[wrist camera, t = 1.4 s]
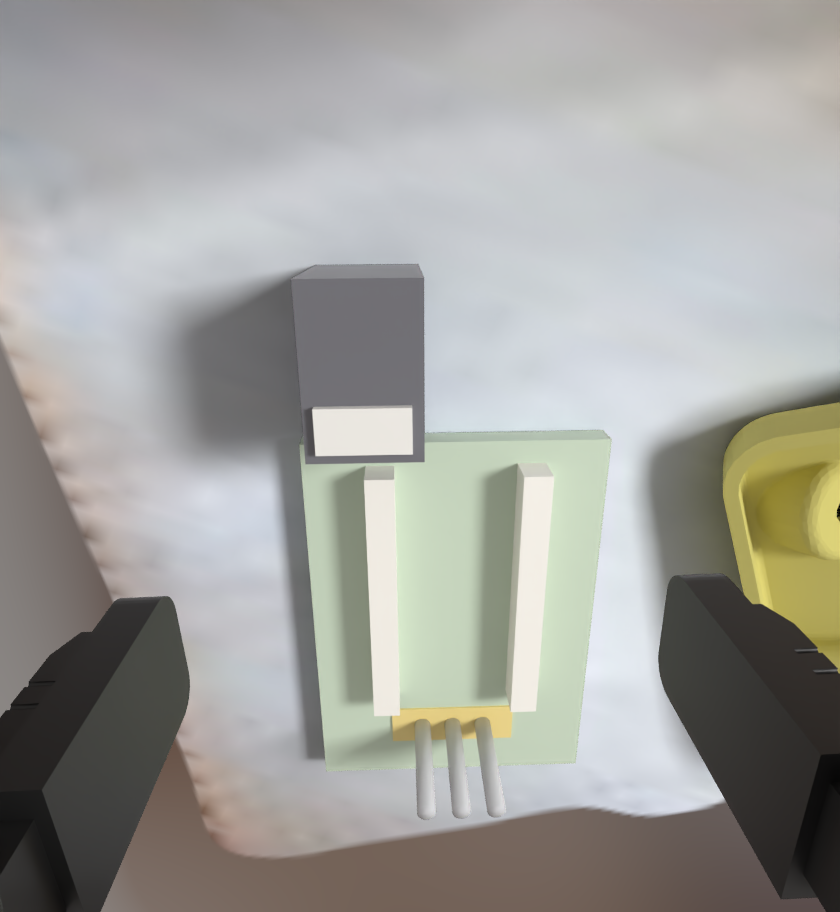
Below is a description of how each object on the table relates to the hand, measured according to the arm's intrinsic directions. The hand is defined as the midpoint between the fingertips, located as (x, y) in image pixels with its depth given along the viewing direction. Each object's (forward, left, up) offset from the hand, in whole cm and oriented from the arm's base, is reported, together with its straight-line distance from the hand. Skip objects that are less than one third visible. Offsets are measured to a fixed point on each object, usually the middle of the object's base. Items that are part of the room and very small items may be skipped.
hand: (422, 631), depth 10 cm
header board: (+11, +2, -17) cm, 20 cm away
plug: (-2, -2, -17) cm, 17 cm away
